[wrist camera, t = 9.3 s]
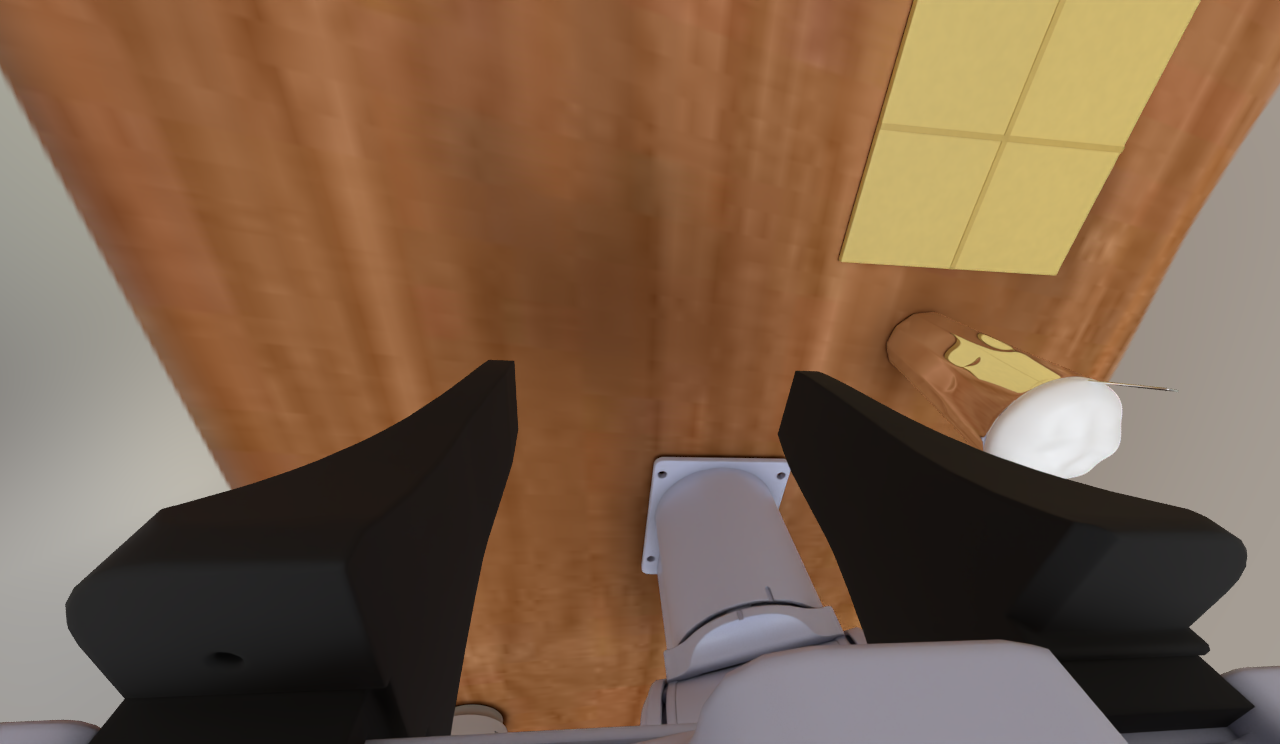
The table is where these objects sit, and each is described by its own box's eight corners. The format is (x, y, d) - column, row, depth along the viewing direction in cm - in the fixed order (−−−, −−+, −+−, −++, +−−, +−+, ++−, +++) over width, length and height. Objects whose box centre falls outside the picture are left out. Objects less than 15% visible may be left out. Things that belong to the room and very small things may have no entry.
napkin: (1050, 273, 22) (1056, 275, 22) (837, 260, 21) (841, 262, 21) (1200, -14, 17) (1210, -16, 17) (928, -53, 16) (934, -56, 16)
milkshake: (987, 292, 23) (1232, 401, 14) (931, 384, 25) (1110, 526, 16) (907, 274, 22) (1113, 377, 13) (858, 371, 24) (1004, 512, 16)
